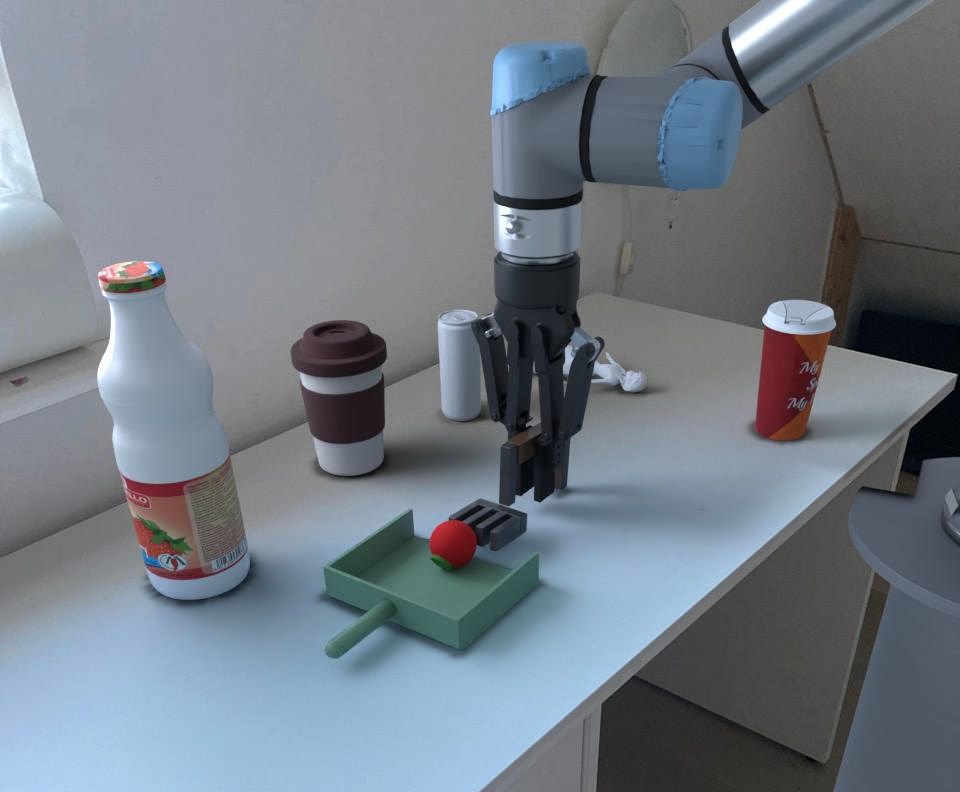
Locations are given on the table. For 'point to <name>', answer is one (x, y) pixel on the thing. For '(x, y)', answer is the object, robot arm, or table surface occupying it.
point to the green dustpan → (420, 588)
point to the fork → (508, 494)
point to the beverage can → (459, 365)
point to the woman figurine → (608, 374)
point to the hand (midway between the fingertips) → (534, 492)
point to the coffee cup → (343, 394)
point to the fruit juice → (169, 441)
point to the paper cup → (791, 366)
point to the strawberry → (452, 544)
